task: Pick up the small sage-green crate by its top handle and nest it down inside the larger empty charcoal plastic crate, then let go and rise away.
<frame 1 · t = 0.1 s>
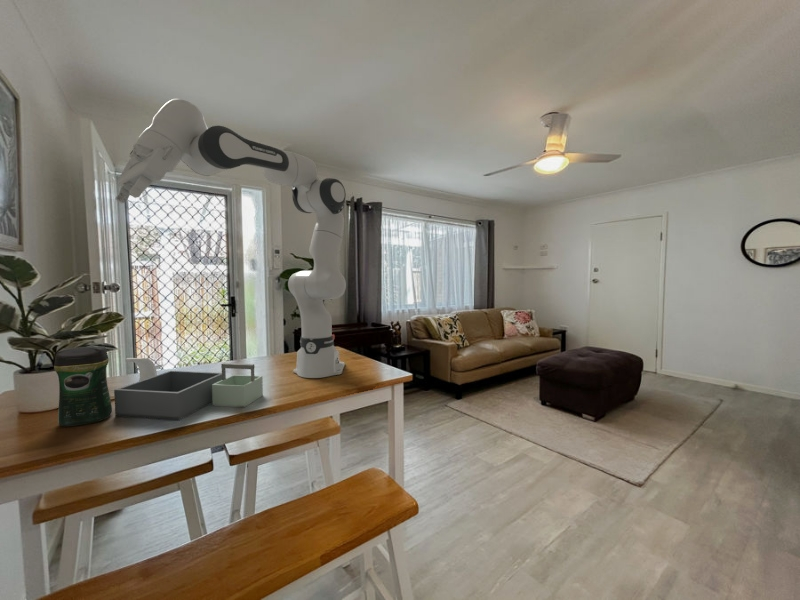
hand: (126, 198, 77), 54 cm above the table, tool tilted 30°, fingers open, 8 cm apart
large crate: (174, 405, 94), on the table
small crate: (238, 400, 98), on the table
white curved piece: (142, 395, 102), on the table
coffee jar: (86, 421, 83), on the table
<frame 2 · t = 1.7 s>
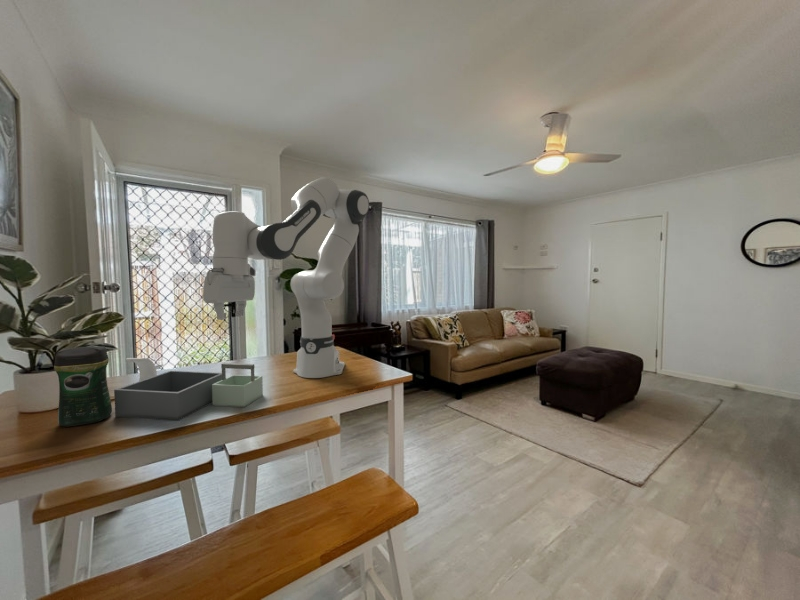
hand: (231, 317, 94), 25 cm above the table, tool pointing down, fingers open, 8 cm apart
nothing on the table moved.
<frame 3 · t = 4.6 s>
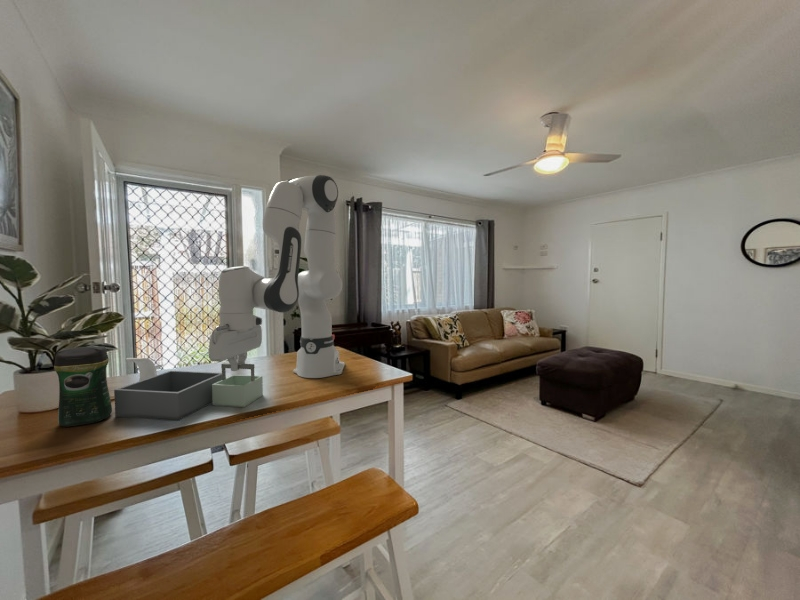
hand: (238, 369, 97), 9 cm above the table, tool pointing down, fingers closed on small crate
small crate: (238, 400, 98), on the table, touching gripper
everything else where it was.
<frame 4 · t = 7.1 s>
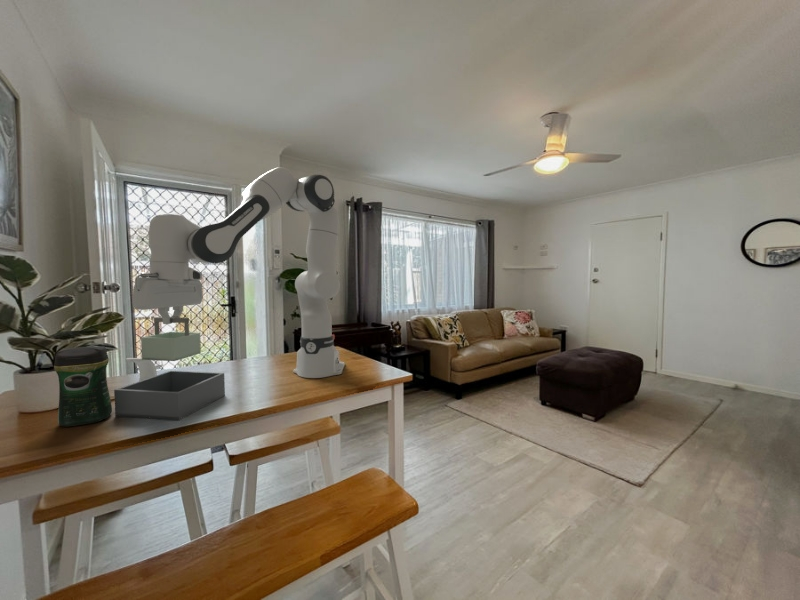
hand: (171, 323, 92), 23 cm above the table, tool pointing down, fingers closed on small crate
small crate: (172, 356, 93), point 14 cm above the table, touching gripper
everything else where it was.
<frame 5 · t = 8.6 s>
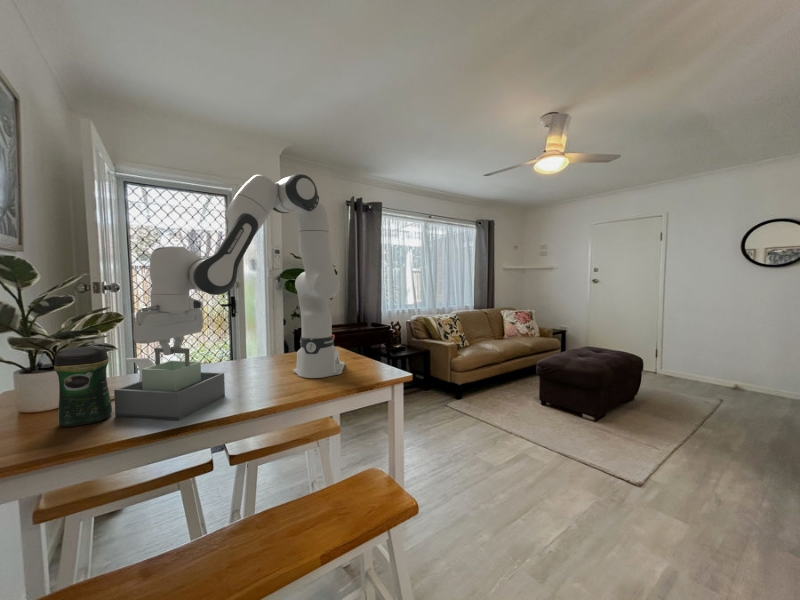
hand: (172, 353, 93), 15 cm above the table, tool pointing down, fingers closed on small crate
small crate: (173, 386, 93), point 5 cm above the table, touching gripper
everything else where it was.
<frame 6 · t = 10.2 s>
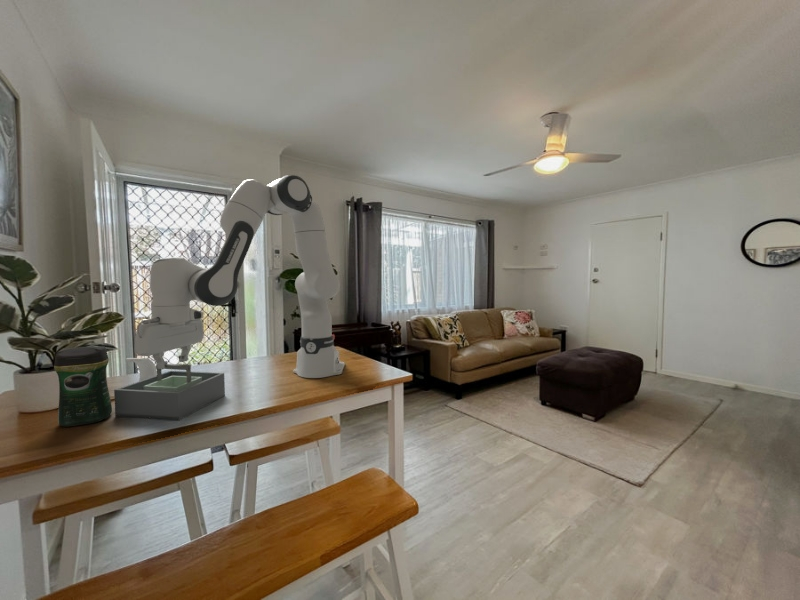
hand: (173, 364, 93), 12 cm above the table, tool pointing down, fingers open, 6 cm apart
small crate: (174, 402, 94), point 1 cm above the table, touching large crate
everything else where it was.
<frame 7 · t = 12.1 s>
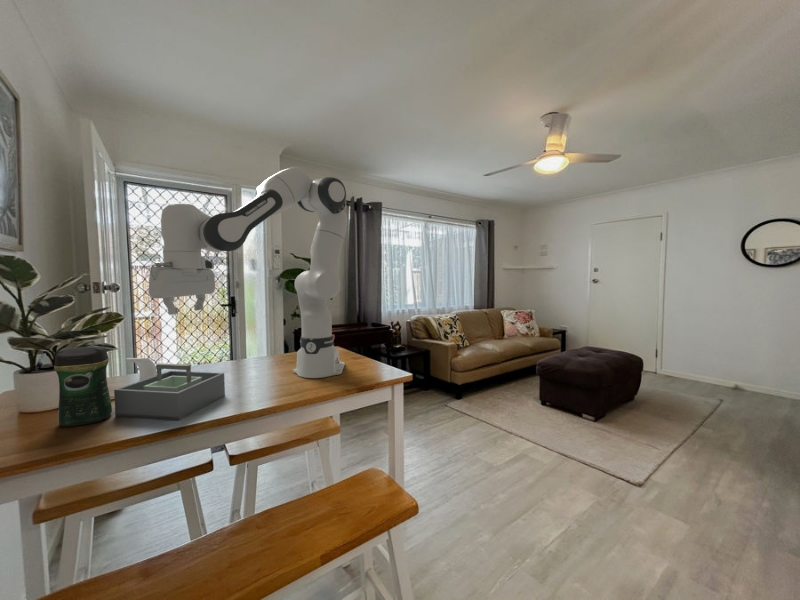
hand: (186, 312, 93), 26 cm above the table, tool pointing down, fingers open, 8 cm apart
nothing on the table moved.
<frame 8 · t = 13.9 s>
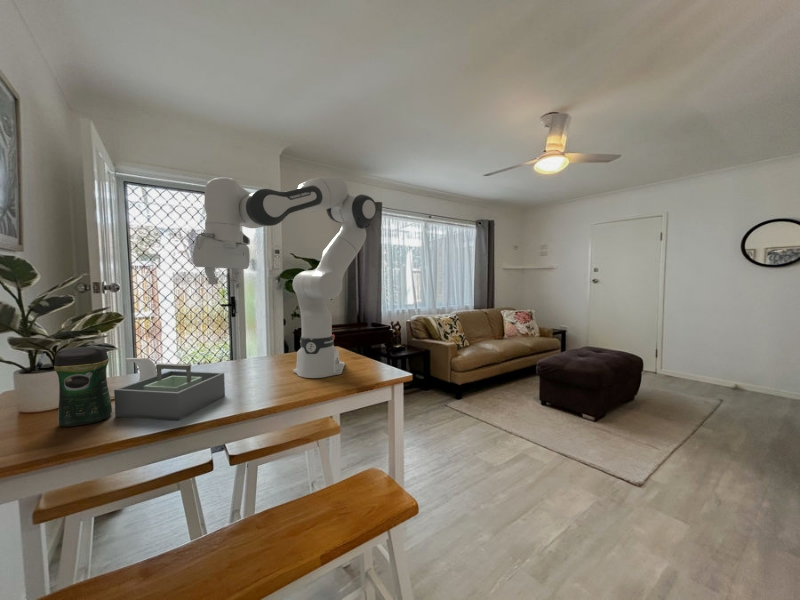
hand: (224, 284, 96), 34 cm above the table, tool pointing down, fingers open, 8 cm apart
nothing on the table moved.
at the end: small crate inside the target area on the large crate (0.1 cm from its centre), point 0.8 cm above the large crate's base; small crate tilted 0°; the gripper is holding nothing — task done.
